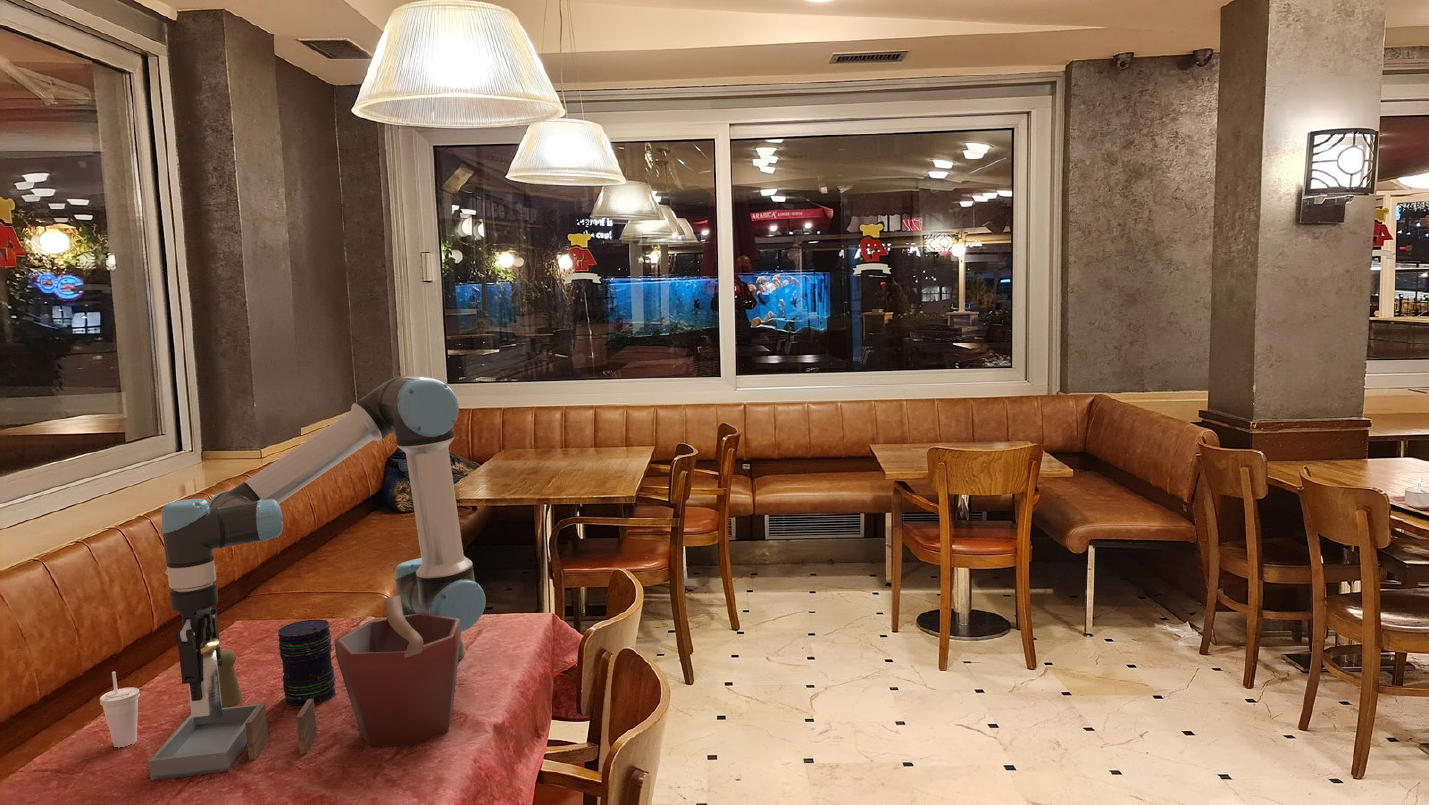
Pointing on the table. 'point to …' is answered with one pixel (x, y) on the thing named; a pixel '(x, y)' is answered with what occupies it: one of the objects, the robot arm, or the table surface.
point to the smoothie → (121, 713)
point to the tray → (203, 746)
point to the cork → (228, 680)
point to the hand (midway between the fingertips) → (206, 708)
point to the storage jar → (306, 662)
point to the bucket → (401, 675)
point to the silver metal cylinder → (210, 682)
